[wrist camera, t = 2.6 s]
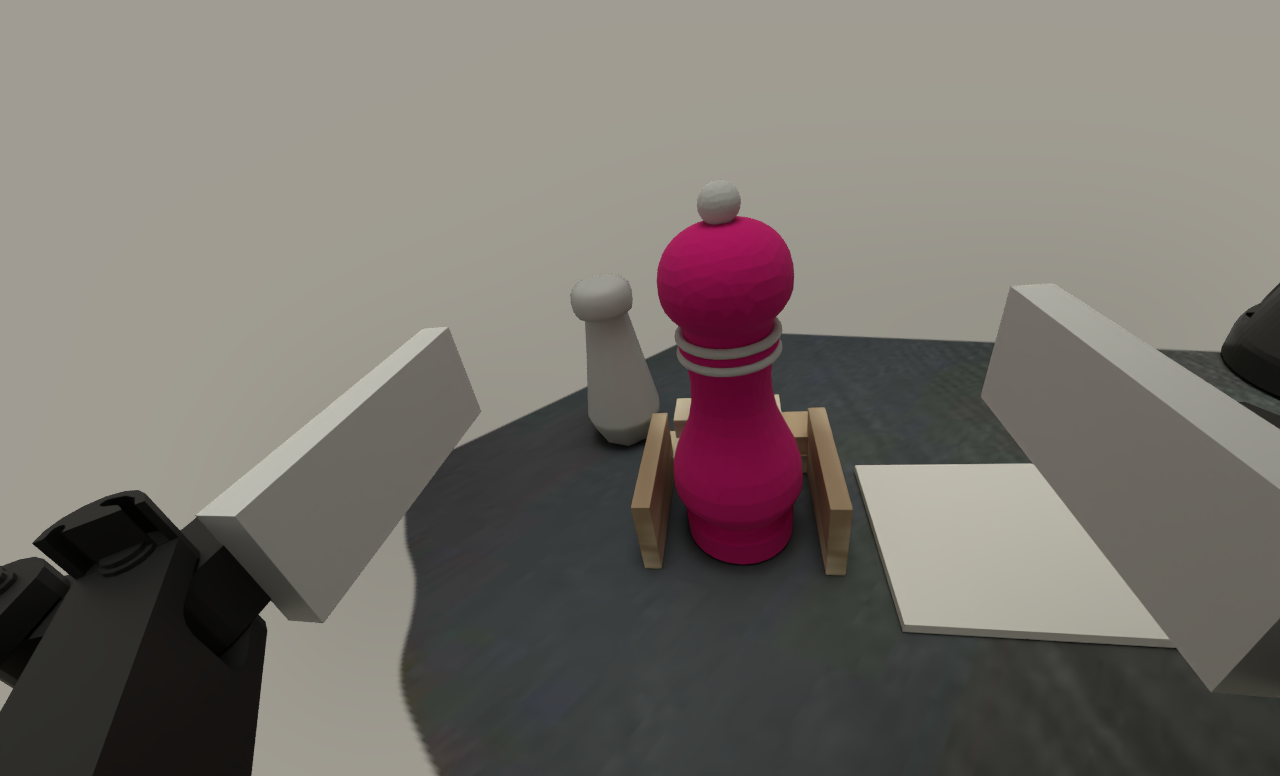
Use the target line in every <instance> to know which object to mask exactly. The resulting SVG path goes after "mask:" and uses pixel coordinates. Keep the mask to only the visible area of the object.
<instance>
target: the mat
mask: <svg viewBox="0 0 1280 776" xmlns="http://www.w3.org/2000/svg"><path fill="white" fill-rule="evenodd" d="M854 473H855V476H856V479H857V483H858V486H859V489H860V492H861V496H862V499H863V502H864V506H865V509H866V512H867V515H868V519H869V522H870V525H871V529H872V532H873V535H874V538H875V542H876V545H877V548H878V552H879V555H880V558H881V561H882V565H883V568H884V571H885V575H886V578H887V581H888V584H889V588H890V591H891V594H892V598H893V601H894V604H895V607H896V611H897V614H898V617H899V621H900V624H901V627H902V630H903V632H915V633H932V634H948V635H965V636H982V637H999V638H1016V639H1033V640H1050V641H1067V642H1084V643H1101V644H1118V645H1135V646H1151V647H1168V648H1176V647H1175V645H1174V644H1173V643H1172V642H1171V640H1170V639H1169V638H1168V636H1167V635H1166V634H1165V633H1164V631H1163V630H1162V629H1161V627H1160V626H1159V625H1158V624H1157V622H1156V621H1155V620H1154V618H1153V617H1152V616H1151V615H1150V613H1149V612H1148V611H1147V609H1146V608H1145V607H1144V606H1143V604H1142V603H1141V602H1140V600H1139V599H1138V598H1137V597H1136V595H1135V594H1134V593H1133V591H1132V590H1131V589H1130V588H1129V586H1128V585H1127V584H1126V582H1125V581H1124V580H1123V579H1122V577H1121V576H1120V575H1119V573H1118V572H1117V571H1116V570H1115V568H1114V567H1113V566H1112V564H1111V563H1110V562H1109V561H1108V559H1107V558H1106V557H1105V555H1104V554H1103V553H1102V552H1101V550H1100V549H1099V548H1098V546H1097V545H1096V544H1095V543H1094V541H1093V540H1092V539H1091V537H1090V536H1089V535H1088V534H1087V532H1086V531H1085V530H1084V528H1083V527H1082V526H1081V525H1080V523H1079V522H1078V521H1077V519H1076V518H1075V517H1074V516H1073V514H1072V513H1071V512H1070V510H1069V509H1068V508H1067V507H1066V505H1065V504H1064V503H1063V501H1062V500H1061V499H1060V498H1059V496H1058V495H1057V494H1056V492H1055V491H1054V490H1053V489H1052V487H1051V486H1050V485H1049V483H1048V482H1047V481H1046V480H1045V478H1044V477H1043V476H1042V474H1041V473H1040V472H1039V471H1038V469H1037V468H1036V467H1035V465H1034V464H947V465H855V470H854Z"/></svg>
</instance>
